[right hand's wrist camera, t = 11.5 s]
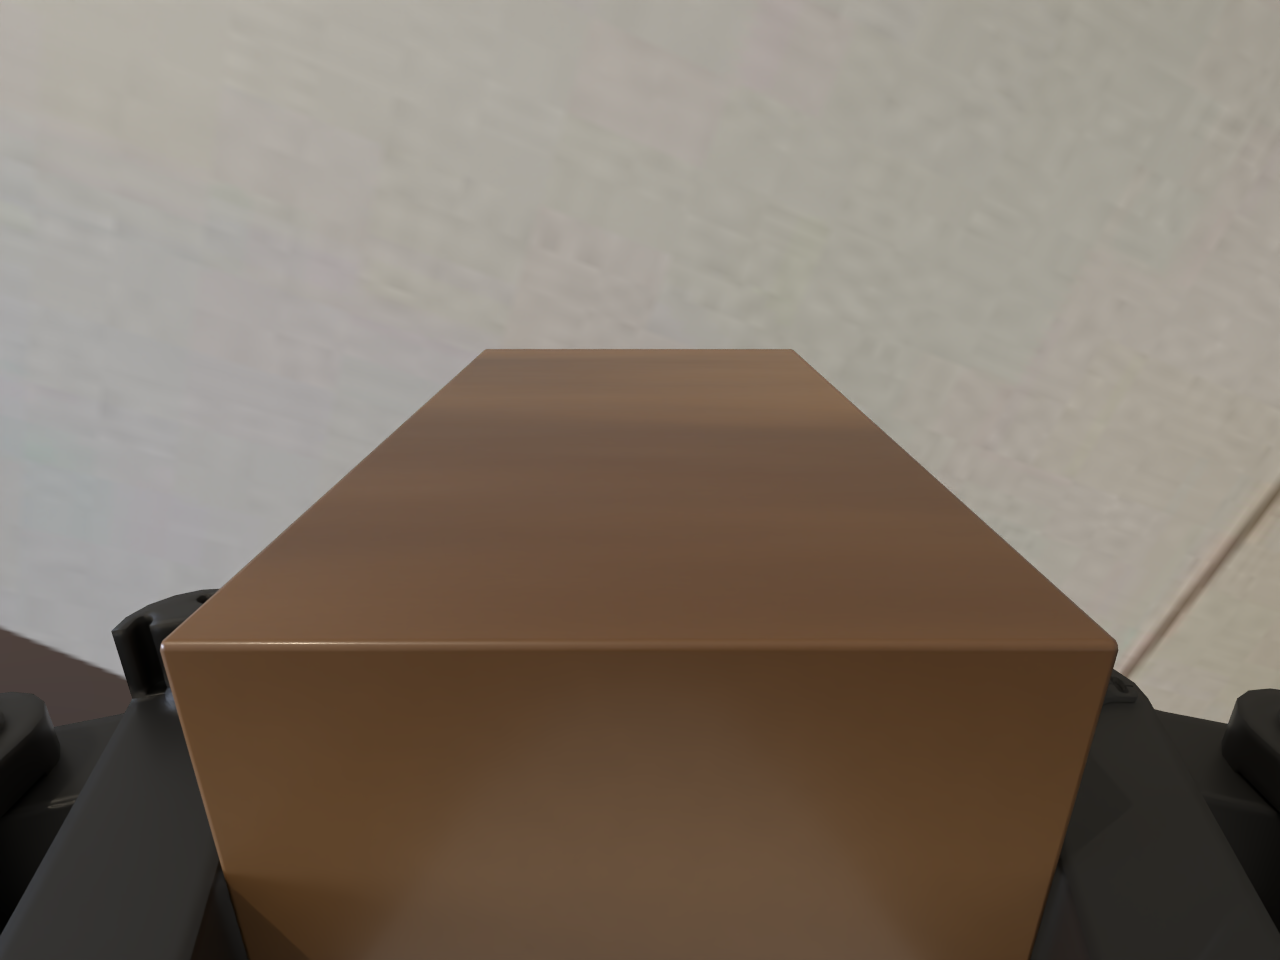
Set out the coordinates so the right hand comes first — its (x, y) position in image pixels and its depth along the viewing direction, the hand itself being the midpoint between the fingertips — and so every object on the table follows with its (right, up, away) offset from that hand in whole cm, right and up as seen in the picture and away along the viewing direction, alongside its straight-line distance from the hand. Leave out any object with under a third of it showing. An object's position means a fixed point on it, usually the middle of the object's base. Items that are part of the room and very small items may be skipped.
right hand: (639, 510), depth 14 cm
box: (0, -8, +4) cm, 8 cm away
